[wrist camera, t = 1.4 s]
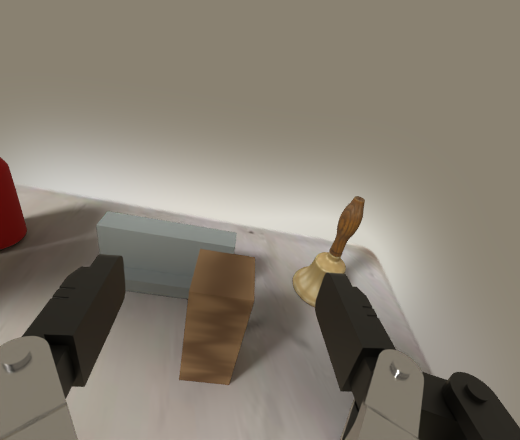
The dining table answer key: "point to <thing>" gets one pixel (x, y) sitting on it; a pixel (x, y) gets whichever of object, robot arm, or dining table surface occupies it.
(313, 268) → the hand bell
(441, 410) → the robot arm
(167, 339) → the dining table surface
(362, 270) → the dining table surface
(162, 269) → the ridge
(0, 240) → the beverage can
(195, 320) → the walnut post
